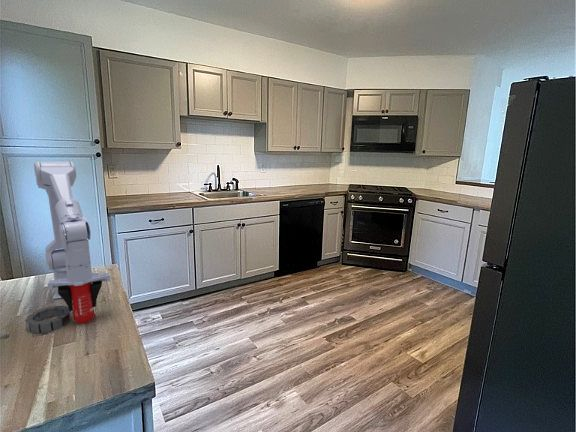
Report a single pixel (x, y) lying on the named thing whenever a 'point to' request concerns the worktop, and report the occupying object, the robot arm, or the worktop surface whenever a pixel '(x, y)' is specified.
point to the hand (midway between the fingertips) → (83, 307)
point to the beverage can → (82, 303)
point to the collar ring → (47, 326)
